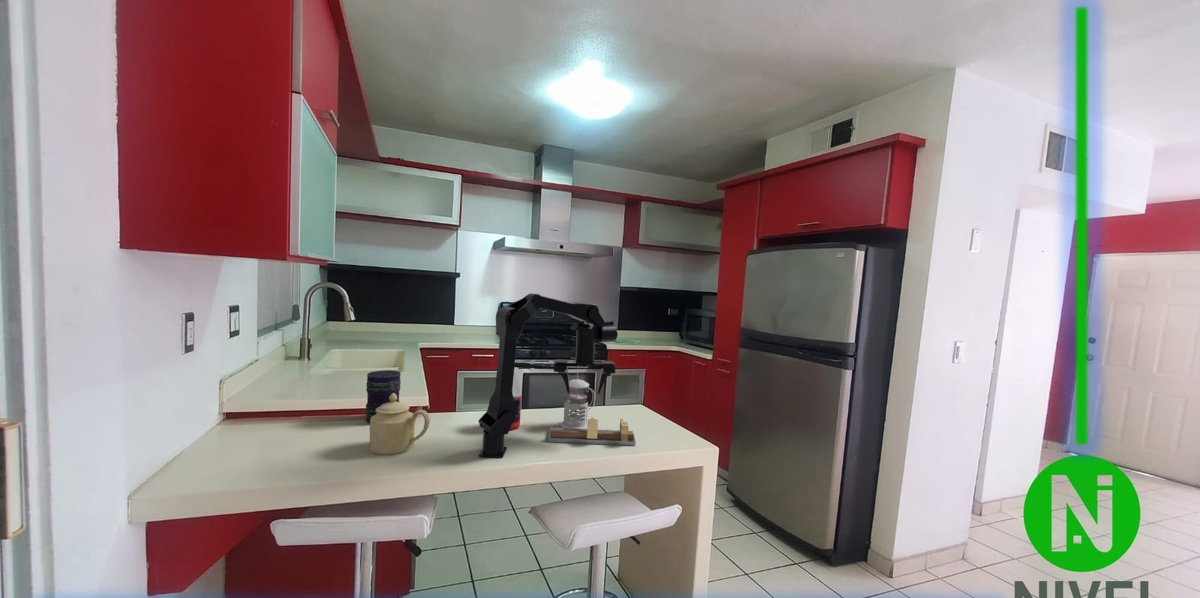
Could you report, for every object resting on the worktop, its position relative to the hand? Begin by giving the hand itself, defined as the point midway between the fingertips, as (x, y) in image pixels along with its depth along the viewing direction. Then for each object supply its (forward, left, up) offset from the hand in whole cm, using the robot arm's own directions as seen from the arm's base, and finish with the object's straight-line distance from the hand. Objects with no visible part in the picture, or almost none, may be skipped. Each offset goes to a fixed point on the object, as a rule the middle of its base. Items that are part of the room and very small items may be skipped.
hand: (583, 393), depth 137 cm
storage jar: (+7, +64, -13) cm, 66 cm away
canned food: (+5, +24, -13) cm, 28 cm away
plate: (-2, -3, -13) cm, 14 cm away
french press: (+9, +1, -13) cm, 16 cm away
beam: (-3, -3, -12) cm, 13 cm away
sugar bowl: (-14, +50, -13) cm, 54 cm away
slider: (-3, -3, -12) cm, 12 cm away
